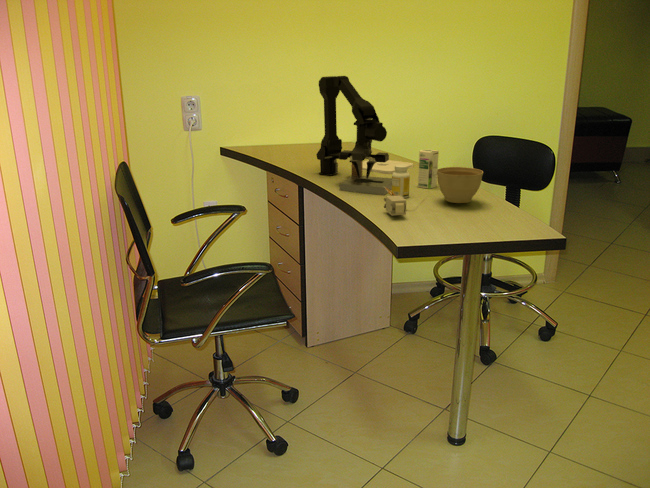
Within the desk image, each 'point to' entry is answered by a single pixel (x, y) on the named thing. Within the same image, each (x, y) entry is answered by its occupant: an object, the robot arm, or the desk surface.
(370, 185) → the keyhole plate
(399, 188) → the pill bottle
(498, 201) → the desk surface
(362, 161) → the walnut peg
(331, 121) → the robot arm
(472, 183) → the planter bowl
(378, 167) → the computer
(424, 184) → the syrup box
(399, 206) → the electrical component
